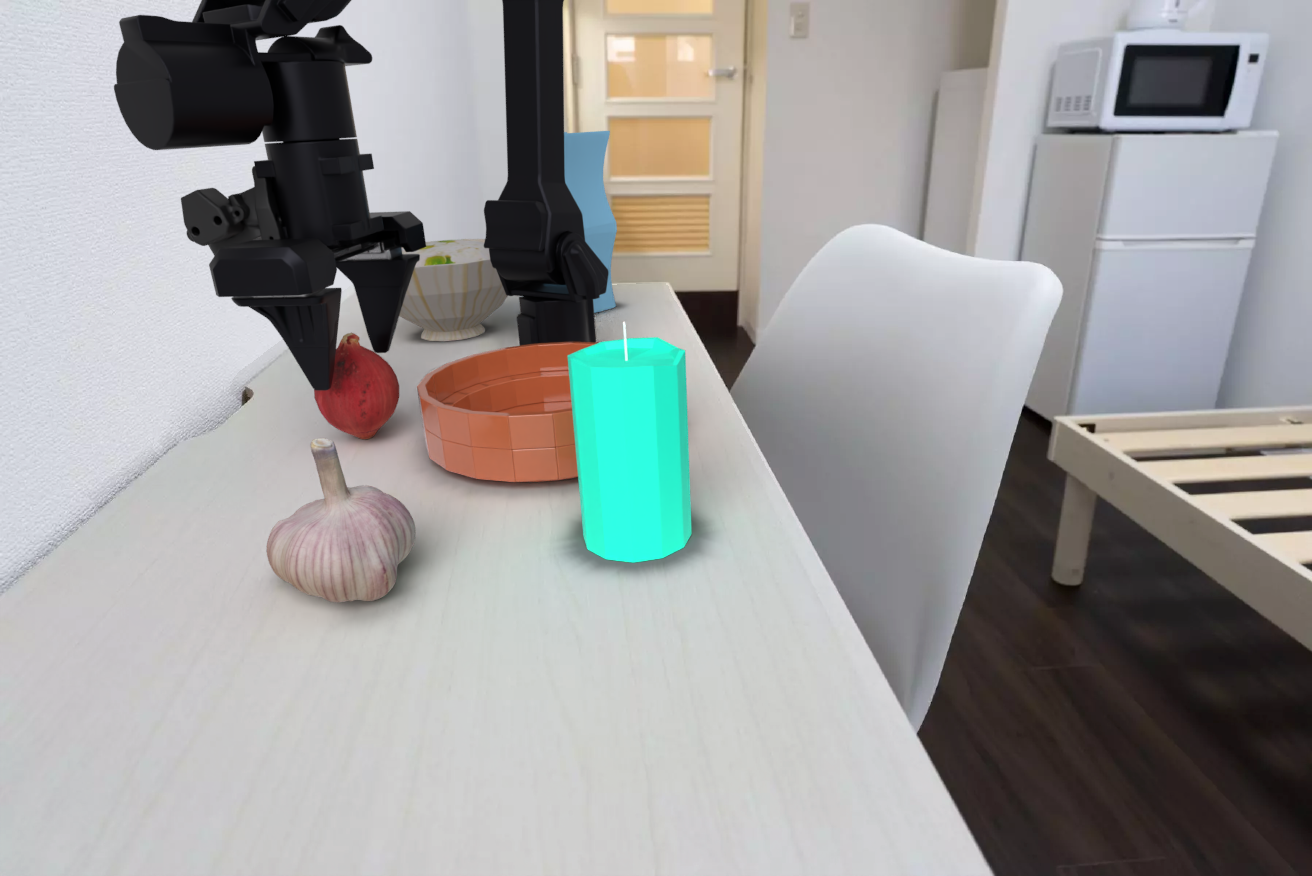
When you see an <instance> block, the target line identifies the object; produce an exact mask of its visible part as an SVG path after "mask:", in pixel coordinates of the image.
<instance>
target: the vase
mask: <svg viewBox="0 0 1312 876" xmlns="http://www.w3.org/2000/svg"><path fill="white" fill-rule="evenodd" d="M610 133H611V131H610V130H597V131H582V132H581V131H579V132H567V131H564V163H565V183H566V185H567V187H568V189H569V190H570V192H571V194H572V196H573V198H574V200H575V201H576V203H577V205H578V207H579V209H580V210H581V212H582V216H583V225H584V234H585V242H586V243H587V244H588V245H589V247H590V248H591V249H592V250H593V252H594V253H595V254H596V255H597V257H598V258H599V259H600V260H601V262H602V263H603V264H604V265H605V267H606V268H607V269H608V272H609V274H608V282H607V289H606V293H604V294H601V295H599V296H600V298H597V299H593V304H594V314H596V313H600V312H604V311H607V310H610V309H611V310H612V309H613V308H614V309H615V308H616V307H617V304H616V300H615V299H616V298H615V296H614V295H615V294H614V290H613V284H612V281H613V280H612V259H613V252H614V246H615V242H616V241H615V240H616V236H617V232H618V227H617V225H618V224H617V221H616V218H615V216H614V213H613V211H612V209H611V206H610V204H609V200H608V197H607V194H606V189H605V182H604V168H605V167H604V166H605V158H606V151H607V147H608V144H609V143H608V142H609V139H610V135H611V134H610Z"/></svg>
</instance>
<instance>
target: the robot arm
mask: <svg viewBox="0 0 1312 876" xmlns="http://www.w3.org/2000/svg"><path fill="white" fill-rule="evenodd" d="M564 1H565V0H501V2H502V24H503V27H502V28H503V50H504V51H503V53H504V54H503V58H504V90H505V91H504V95H505V96H504V97H505V128H506V129H505V130H506V158H507V159H506V163H507V167H506V168H507V180H506V183H505V185H504V186H503V189H502V191H501V193H500V195H499V197H498V199H487V200H486V201H485V203H484V208H483V216H484V221H485V238H484V239H485V242H484V248H489V255H490V261H491V264H492V267H493V268H494V269H496V270H497V273H498V275H499V278H500V281H501V283H502V286H503V288H504V291H505V293H506V295H507V296H508V297H518V300H519V301H518V302H519V309H520V310H519V313H518V314H517V315H516V322H517V323H516V324H517V334H518V342H519V346H521V345H529V344H536V343H537V344H538V343H555V342H597V331H596V320H595V319H596V318H595V313H594V304H593V299H597V298H600V296H599V295H601V294H604V293H606V289H607V282H608V274H609V272H608V269H607V268H606V267H605V265H604V264H603V263H602V262H601V260H600V259H599V258H598V257H597V255H596V254H595V253H594V252H593V250H592V249H591V248H590V247H589V245H588V244H587V243H586V242H585V234H584V225H583V216H582V212H581V210H580V209H579V207H578V205H577V203H576V201H575V200H574V198H573V196H572V194H571V192H570V190H569V189H568V187H567V185H566V183H565V163H564V132H565V88H564V87H565V86H564V85H565V84H564V83H565V82H564V81H565V80H564V75H565V73H564ZM351 2H352V0H201V1H200V3H199V5H198V8H197V9H196V11H195V14H194V16H193V18H192V21H183V20H181V21H180V20H174V19H170V18H167V17H164V16H159V15H151V14H150V15H149V14H136V15H131V16H127V17H122V18H121V19H120V20H119V21H118V25H119V28H120V32H121V36H122V40H123V43H122V44H121V45H120V48H119V50H118V53H117V57H116V65H115V79H116V83H115V84H114V85H113V91H114V95H115V99H116V103H117V106H118V109H119V111H120V114H121V116H122V118H123V120H124V123H125V125H126V126H127V128H128V130H129V131H130V133H131V134H132V135H133V137H134V138H135V139H136V140H137V141H138V143H140V144H141V145H142V146H144V147H145V148H147V149H149V150H153V151H165V150H167V151H168V150H179V149H180V150H183V149H196V148H197V149H198V148H213V147H214V148H215V147H229V146H245V145H250V144H253V143H254V142H255V143H256V141H257V140H258V139H259V138H260V137H261V135H262V137H263V142H264V148H265V152H266V158H267V159H263V160H254V161H253V164H254V165H253V166H252V168H251V175H252V179H253V185H254V186H253V187H250V188H249V189H246V190H244V191H242V192H238V193H233V194H230V195H228V196H226V195H224V194H223V193H222V192H221V191H219V190H218V189H217V188H216V187H208V188H207V187H206V188H200V189H196V190H194V191H191V192H189V193H188V194H185V195H183V196H181V197H180V204H181V211H182V218H183V225H184V227H185V229H186V236H187V239H188V240H189V241H190V242H193V243H195V244H197V245H199V246H202V247H205V246H206V247H207V246H208V247H209V250H210V251H211V253H212V254H213V257H212V259H211V261H210V262H209V264H208V266H209V271H210V275H211V280H212V283H213V288H214V293H215V296H217V297H218V298H230V299H231V301H232V302H233V303H234V304H235V305H236V306H238V307H243V308H250V309H251V310H252V311H255V312H256V313H257V314H259V315H261V316H263V317H264V318H266V319H267V320H268V321H269V322H270V323H271V325H272V326H273V327H274V329H275V330H276V331H277V333H278V335H279V336H280V337H281V338H282V340H283V342H284V344H285V345H286V346H287V348H288V350H289V351H290V353H291V355H292V356H293V358H294V359H295V361H296V363H297V365H298V366H299V368H300V369H301V371H302V373H303V375H304V376H305V378H306V379H307V381H308V383H309V384H310V386H311V388H312V389H313V391H314V390H317V391H326V390H329V389H330V388H331V385H332V379H333V373H334V365H335V355H336V349H337V344H338V332H339V323H340V312H341V302H342V293H343V292H342V290H343V289H342V287H331V286H333V285H334V283H335V280H336V275H337V271H339V272H341V273H342V274H343V275H344V276H345V277H346V279H348V280H349V281H350V282H351V283H352V285H353V287H354V292H355V294H356V298H357V301H358V305H359V309H360V312H361V315H362V319H363V323H364V327H365V330H366V333H367V336H368V339H369V342H370V345H371V347H372V351H373V352H375V353H377V354H386V353H388V352H389V351H390V349H391V345H392V343H393V340H394V335H395V332H396V328H397V325H398V322H399V318H400V316H399V315H400V311H401V308H402V305H403V302H404V298H405V295H406V292H407V289H408V286H409V283H410V280H411V277H412V274H413V271H414V268H415V266H416V263H417V262H418V261H419V260H420V254H402V248H401V247H403V248H404V250H405V251H406V252H415V251H417V250H419V249H422V248H424V247H426V242H427V241H426V236H425V229H424V228H425V227H424V222H422V221H421V219H419V218H418V217H417V216H416V215H415V214H414V213H413V212H412V211H410V210H404V211H375V212H371V211H370V206H369V201H368V195H367V188H366V181H365V177H364V171H369V170H370V171H371V170H374V169H375V166H374V165H375V164H374V160H373V154H372V153H360V147H359V141H358V135H357V129H356V125H355V124H356V122H355V117H354V112H353V111H354V110H353V106H352V105H353V104H352V100H351V99H352V98H351V93H350V88H349V81H348V75H347V69H346V67H352V66H361V65H362V66H363V65H369V64H371V63H372V62H373V55H372V53H371V52H370V51H369V50H368V49H367V48H366V47H364V45H362V44H361V43H360V42H358V41H357V40H355V39H354V38H353V37H352V36H351V35H350V34H349V33H348V31H347V30H346V28H345V27H344V26H343V25H341V24H337V25H330V26H323V27H320V28H319V29H318V31H317V33H316V35H315V36H297V35H298V34H299V33H300V32H301V31H302V30H303V29H304V28H305V27H306V26H307V25H308V24H314V23H321V22H327V21H329V20H331V19H334V18H337V17H338V16H339V15H340V14H341V13H342V12H343V11H344V10H345V9H346V7H348V5H349V4H350V3H351ZM295 35H296V36H295ZM276 38H277V39H276ZM269 39H270V40H271V39H276V40H275V41H273V42H272V43H271V45H269V48H268V50H267V52H266V51H265V52H264V51H262V52H260V51H258V46H257V41H263V40H269Z"/></svg>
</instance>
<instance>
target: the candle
mask: <svg viewBox="0 0 1312 876" xmlns="http://www.w3.org/2000/svg"><path fill="white" fill-rule="evenodd" d="M622 331H623V338H621V339H612V340H606V341H605V340H604V341H600V342H597V344H595V345H592V346H589V347H587V348H584V349H581V350H579V351H577V352H574V353H572V354H570V355H567V357H568V368H569V379H570V391H571V402H572V413H573V425H574V436H575V447H576V459H577V470H578V477H577V481H578V491H579V503H580V513H581V524H582V535H583V536H582V537H583V539H584V543H585V547H586V550H588V551H589V552H591V553H593V554H595V555H597V556H598V557H600V558H602V559H604V560H607V561H615V562H616V561H617V562H625V563H641V562H646V561H654V560H660V559H664V558H666V557H667V556H670V555H673V554H674V553H676V552H678V551H680V550H682V549H684V548H685V547H686V545H687V543H688V541H689V539H690V538H691V536H692V533H693V531H692V530H693V529H692V504H691V502H692V501H691V476H690V475H691V474H690V473H691V472H690V444H689V419H688V418H689V417H688V416H689V415H688V389H687V387H688V386H687V362H686V361H687V359H686V357H687V356H686V350H685V349H683V348H680V347H677V346H675V345H674V344H672V343H670V342H668V341H666V340H664V339H662V338H660V337H659V336H654V337H652V336H651V337H628V338H627V322H626V321H622Z"/></svg>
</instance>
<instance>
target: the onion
mask: <svg viewBox="0 0 1312 876" xmlns="http://www.w3.org/2000/svg"><path fill="white" fill-rule="evenodd" d="M339 341H340V342H339V344H338V346H337V347H336V355H335V365H334V373H333V379H332V385H331V388H330V389H329V390H326V391H317V390H314V389H313V394H314V395H313V396H314V400H315V403H316V405H317V408H318V411H319V412H320V414H321V415H322V416H323V418H324V419H325V420H326V422H327V423H328V424H330V425H331V426H332V427H333V428H335V429H336V430H337V431H340V432H343V433H345V434H348V435H350V436H353V437H355V438H358V439H360V440H369V439H372V438H373V437H374V436H375V435H376V434H377V432H378V431H379V430H380V429H381V428H382V427H383V426H384V425H385V424H386V423H387V422H388V421H389V420H390V418H391V417H392V416H393V414H394V413H395V412H396V409H397V406H398V403H399V400H400V383H399V380H398V376H397V374H396V372H395V370H394V368H393V367H392V366H391V364H389V362H388V361H387V360H385V359H384V358H383V357H382V356H381V355H379V353H375V352H374V350H371V349H370V348H367V347H365V346H362V345H361V344H360V336H359V335H357V333H354V332H348V333H346V334H344V335H343V336H342V338H341V340H339Z"/></svg>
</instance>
